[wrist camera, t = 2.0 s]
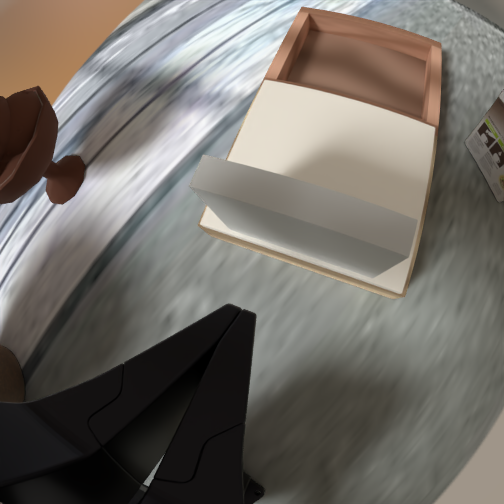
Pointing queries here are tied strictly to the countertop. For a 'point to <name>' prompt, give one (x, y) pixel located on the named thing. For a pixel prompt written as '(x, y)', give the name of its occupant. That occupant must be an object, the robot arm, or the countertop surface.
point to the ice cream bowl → (33, 149)
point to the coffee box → (490, 147)
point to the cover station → (357, 88)
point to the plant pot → (10, 378)
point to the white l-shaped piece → (323, 183)
